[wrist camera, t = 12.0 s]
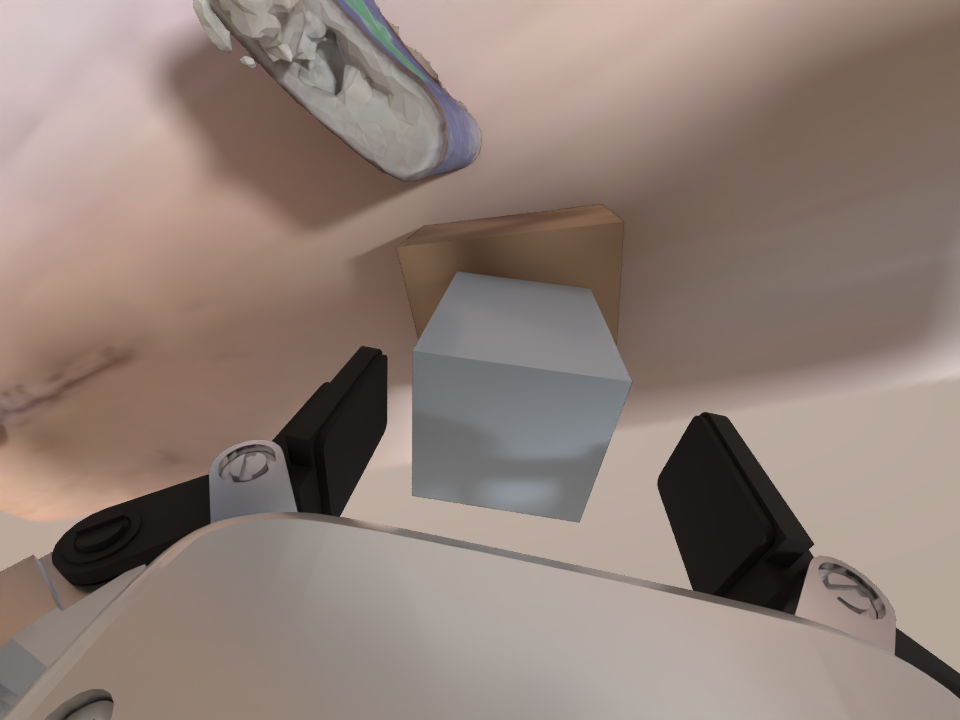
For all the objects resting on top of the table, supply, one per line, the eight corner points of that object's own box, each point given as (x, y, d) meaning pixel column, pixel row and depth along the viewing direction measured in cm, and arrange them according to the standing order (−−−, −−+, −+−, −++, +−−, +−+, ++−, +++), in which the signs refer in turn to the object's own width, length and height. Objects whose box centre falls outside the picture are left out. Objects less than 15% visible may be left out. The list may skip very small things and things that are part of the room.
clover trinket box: (493, 139, 17) (452, 132, 8) (450, 187, 18) (369, 229, 9) (333, -62, 14) (-24, -440, 5) (295, 10, 15) (-49, -188, 6)
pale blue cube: (590, 288, 15) (632, 381, 9) (561, 397, 18) (579, 522, 12) (457, 271, 15) (412, 351, 9) (449, 381, 18) (411, 495, 12)
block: (601, 203, 18) (623, 221, 14) (596, 361, 22) (612, 412, 18) (425, 224, 19) (396, 247, 15) (453, 368, 24) (436, 417, 20)
